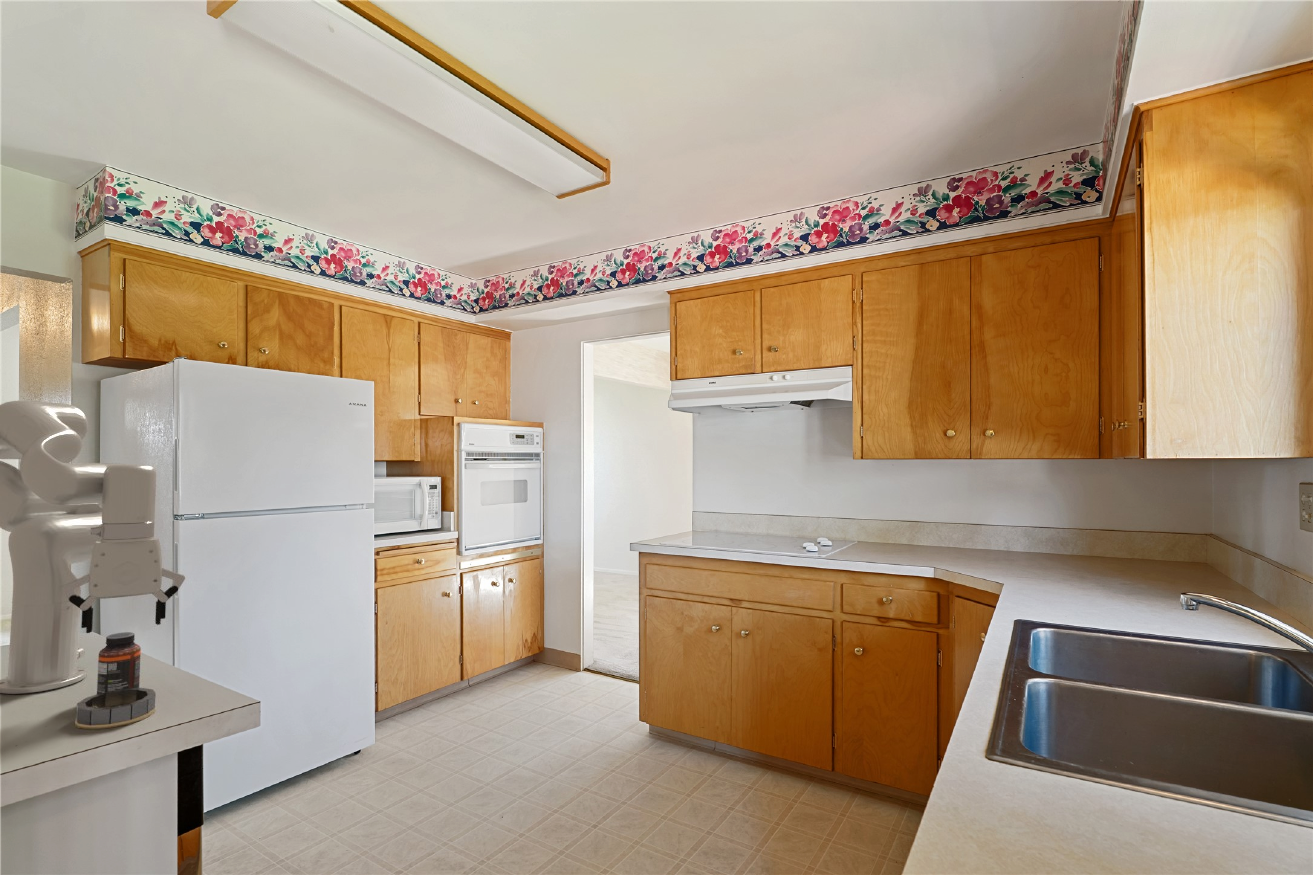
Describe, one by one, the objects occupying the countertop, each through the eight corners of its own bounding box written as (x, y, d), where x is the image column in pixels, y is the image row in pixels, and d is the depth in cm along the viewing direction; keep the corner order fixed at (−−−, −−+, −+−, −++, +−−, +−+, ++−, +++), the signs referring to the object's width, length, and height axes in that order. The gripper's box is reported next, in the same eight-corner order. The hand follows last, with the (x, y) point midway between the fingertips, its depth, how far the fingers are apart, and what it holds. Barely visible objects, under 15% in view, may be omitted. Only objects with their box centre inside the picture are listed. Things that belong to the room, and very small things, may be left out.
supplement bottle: (134, 689, 121) (137, 628, 122) (142, 697, 118) (146, 634, 118) (92, 697, 117) (96, 634, 117) (100, 706, 113) (103, 641, 113)
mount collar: (96, 707, 113) (97, 689, 113) (166, 702, 116) (167, 685, 116) (59, 731, 103) (60, 712, 103) (137, 726, 106) (138, 707, 106)
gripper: (62, 537, 110) (57, 639, 109) (187, 531, 121) (184, 624, 120) (65, 533, 116) (61, 630, 115) (185, 527, 126) (182, 616, 126)
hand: (124, 627), depth 117 cm, fingers open, 9 cm apart
